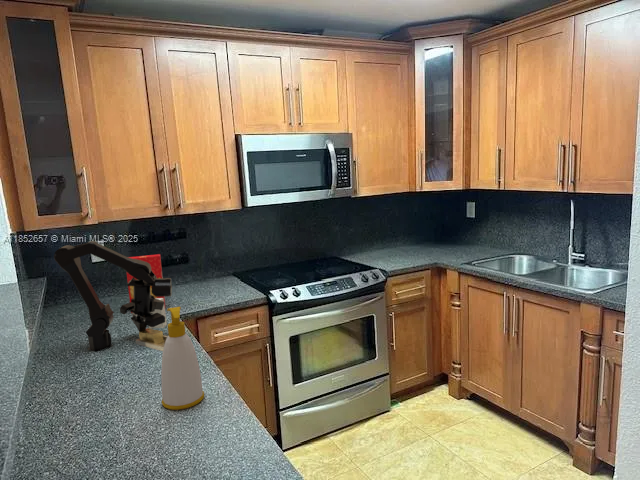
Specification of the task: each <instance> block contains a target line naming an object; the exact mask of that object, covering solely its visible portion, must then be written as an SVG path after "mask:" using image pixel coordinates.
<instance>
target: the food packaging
mask: <svg viewBox="0 0 640 480" xmlns="http://www.w3.org/2000/svg"><path fill="white" fill-rule="evenodd" d="M127 257H128V258H132V259H138V260H141V261H145V262H148V263H149V264H150V266H151V270H152V272H153V273H154V274H155V275H156V277H157V278H164V277H163V269H162V260H161V259H162V257H161V253H157V254H149V255H139V256H127ZM132 278H134V277H133V276H131V275H130V274H128V273H127V272H126V280H127V283H128V282H129V281H130V280H131V279H132ZM135 279H136V278H135ZM136 280H138V279H136ZM127 287H128V288H127V289H128V297H129V303H130V302H131V299H133V298H134V290H133V286H127ZM150 295H152V296H154V298H163V299H164V306H165V307H166V297H155V295H153V294H152V286H150ZM130 313H131V314H132V312H131V311H130Z"/></svg>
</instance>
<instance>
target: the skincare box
mask: <svg viewBox="0 0 640 480" xmlns="http://www.w3.org/2000/svg"><path fill="white" fill-rule="evenodd" d="M155 299H158V300H161V301H163V302H164V299H163V298H155ZM151 313H153V314H155V313H159V314H162V315H164V316H165V322H164V323H162V324H159V325H157V326H155V327H150V326H148V328H150V329H163V328H165V327H167V326H168V323H167V316H166V305H165V306H163V309H162V310H157V309H155V311H154V312H151Z"/></svg>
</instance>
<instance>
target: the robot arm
mask: <svg viewBox="0 0 640 480" xmlns="http://www.w3.org/2000/svg"><path fill="white" fill-rule="evenodd" d="M87 255H93V256H95V257H97V258H99V259H101V260H104V261H105V262H107V263H108V262H109V263H110V264H112V265H114V266H116V267H118V268H121V269H123V270H124V271H125V272H126V274H127V273H128V274H130V275H131V276H133V277H134V278H132V279H131V280H130V281H129V282H128V281H127V283H126V285H127V287H128V286H133V290H134V298H133V299H131V302H130V301H129V302H128V303H125V304H122V305H121V306H119V313H120V314H122V315H126V314H127V313H128V311H129V312H130V313H131V312H132V313H131V316H132V317H130V320H131V321H132V322H133V324H134V325H135V327H136V328H137V330H138V332H139V331H142V330H144V329H147V327H149V326H150V327H155V326H157V325H159V324H162V323H164V322H165V316H164V315H162V314H159V313H155V314H153V313H151V312H154V311H155V309H157V310H162V309H163V306H164V302H163V301H161V300H158V299H155V298H154V296H152V295H150V286H152V294H153V295H155V297H165V298H167V297H172V293H173V285H172V278H171V277H166V278H164V277H163V278H157V277H156V275H155V274H154V273H153V272H152V270H151V266H150V264H149V263H148V262H145V261H141V260H138V259H132V258H128V257H129V256H125V255H124V254H121V253H119V252H117V251H116V250H113V249H111V248H108V247H106V246H104V245H102V244H100V243H98V241H95V240H91V241H88V242H86V243H81V244H79V245H78V244H77V245H74V246H73V245H71V244H70V245H69V244H67V245H64V246H62V247H60V248H57V249H56V251H54V255H53V259H54V261H55V262H56V263H57V264H58V265H59V267H60V268H61V269H62V270H64V271H65V272H66V273H67V274H68V275H69V277H70V279H71V280H72V282H73V284H74V286H75V287H76V289H77V291H78V292H79V295H80V297H81V298H82V300H83V303H85V305H86V307H87V309H88V314H89V315H88V316H89V320H90V323H91V325H90V326H89V327H88V329H87V330H86V331H85V334H86V336H87V338H88V339H87V340H88V348H87V350H89V351H93V352H95V353H97V352H101V351H103V350H106V349H109V348H111V347H113V346H114V345H113V343H112V335H111V333H110V330H109V328H108V327H110V325H111V323H113V321H114V314H115V312H114V311H113V310H112V308H111V306H110V303H107V304H104V303H102V302H101V299H100V298H99V296H98V294H97V292H96V291H95V289H94V288H93V287H94V286H92V283H91V282H90V279H89V278H88V276H87V275H86V273H85V271H84V269H83V267H82V261H81V258H82V257H83V256H87ZM135 278H136V279H138V280H136V279H135Z"/></svg>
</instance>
